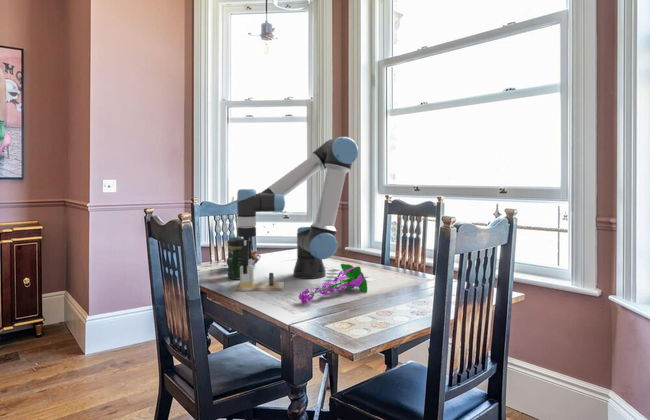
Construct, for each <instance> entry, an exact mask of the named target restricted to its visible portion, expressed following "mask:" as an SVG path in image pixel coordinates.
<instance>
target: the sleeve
mask: <svg viewBox="0 0 650 420" xmlns="http://www.w3.org/2000/svg"><path fill="white" fill-rule="evenodd" d="M239 283H240V287H253V284H254V283H255V281H254V267H253V265H249V282H242V266H241V267H240V279H239Z"/></svg>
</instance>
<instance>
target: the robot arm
mask: <svg viewBox="0 0 650 420" xmlns="http://www.w3.org/2000/svg"><path fill="white" fill-rule="evenodd" d="M358 157H359V147H358V145H357V143H356V142H355V140H353V139H352V138H350V137H349V136H339V137H336V138H332V139H328V140H327V141H325V142H324V143H323V144H322V145H320V146H319V147H318V148H316V149H315V150H314V151H313V152H311V153H310V155H309V157H308V158H307V159H306V160H304V161H303V162H301V163H300V164H298V165H297V166H296V167H294V168H293V169H291V170H289V172H287V173H286V174H285V175H283V176H281V177H280V178H279V179H277V181H275V182H274V183H272V184H271V185H269V186H268V187H267V188H265V189H264V190H262V191H261V192H258V193H257V191H256V189H255V188H254V189H253V188H250V189H249V188H248V189H247V188H240V189H238V190H237V193H236V194H237V196H236V197H237V198H236V209H237V218H236V219H235V221H236V223H237V227H236V228H237V229H236V230H237V237H239V238H242V239H243V240H242V243H241V244H242V260H241V264H240V266H242V282H249V265H252V259H253V256H252V247H253V246H252V244H253V240H252V237H256V236H257V228H256V226H257V213H268V212H269V213H272V212H273V213H278V212H283V211H284V210H285V207H286V206H285V205H286V204H285V203H286V201H285V196H287V195H288V194H289V193H291V192H293V190H295V189H296V188H298V187H299V186H300V185H302V184H303V183H304V182H306V181H307V180H308V179H309V178H311V177H312V176H313V175H315V174H316V173H318V172H319V171H324V170H326V172H325V177H324V183H323V187H322V191H321V195H320V200H319V205H318V209H317V213H316V218H315V222H313V223H312V224H310V226H300V227H298V228H297V233H296V236H297V237H296V242H297V243H296V245H297V246H296V247H297V248H296V255H297V256H296V257H297V258H296V261H295V265H294V267H293V270H292V271H293V274H292V275H293V276H294V277H295V278H299V279H319V278H323V277H326V268H325V265H324V262H323V260H327V259H330V258H331V257H332V256H334V254H336V253H337V249H338V241H337V239H336V235H337V229H336V227H335V224H336V220H337V217H338V212H339V211H338V210H339V207H340V202H341V199H342V198H341V197H342V194H343V189H344V184H345V180H346V175H347V174H348V173H349V172H350V171H351V169H352V165H353V163H354V162H355V161H357V158H358Z"/></svg>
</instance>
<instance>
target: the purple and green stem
mask: <svg viewBox="0 0 650 420" xmlns="http://www.w3.org/2000/svg"><path fill="white" fill-rule="evenodd" d="M340 267H341V269H342V270H341V271H340V272H339V273H338V274H337V276H336V277H334V278H333V280H330V281H328V282H327V281H326V282H323V283H322V285H321V288H320V286H319V287H318V285H317V286H316V287H315V288H313V290H309V289H308V288H306V289H305V290H302V292H300V293H299V295H298V300H299V301H301V304H307V302H309V301H312V300H313V299H314V297H315V298H316V297H319V296H320V295H323V296H328V295H330V293H332V294H333V293H334V291H335V290H339V291H340V292H341V291H344V290H346V289H348V290H351V289H352V290H353V289H354V288H358V289H359V290H360V291H362V292H365V293H368V282H367V279H366V278H365V276H364V273H363V272H362V270H361V269H362V268H361V266H353V265H351V264H347V263H346V264H345V263H341V264H340ZM346 277H348V278H346ZM315 294H317V295H316V296H315Z"/></svg>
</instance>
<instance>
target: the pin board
mask: <svg viewBox="0 0 650 420" xmlns="http://www.w3.org/2000/svg"><path fill="white" fill-rule="evenodd" d="M268 277H269V278H268V282H267V281H266V282H265V281H262V282H259V281H258V282H255V281H254V284H253V287H240V282H235V285H234V286H233V289H232V291H233V292H256V291H257V292H258V291H260V292H262V291H263V292H264V291H265V292H266V291H267V292H268V291H270V292H271V291H284V281H275V279H274V272H269V273H268Z"/></svg>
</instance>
